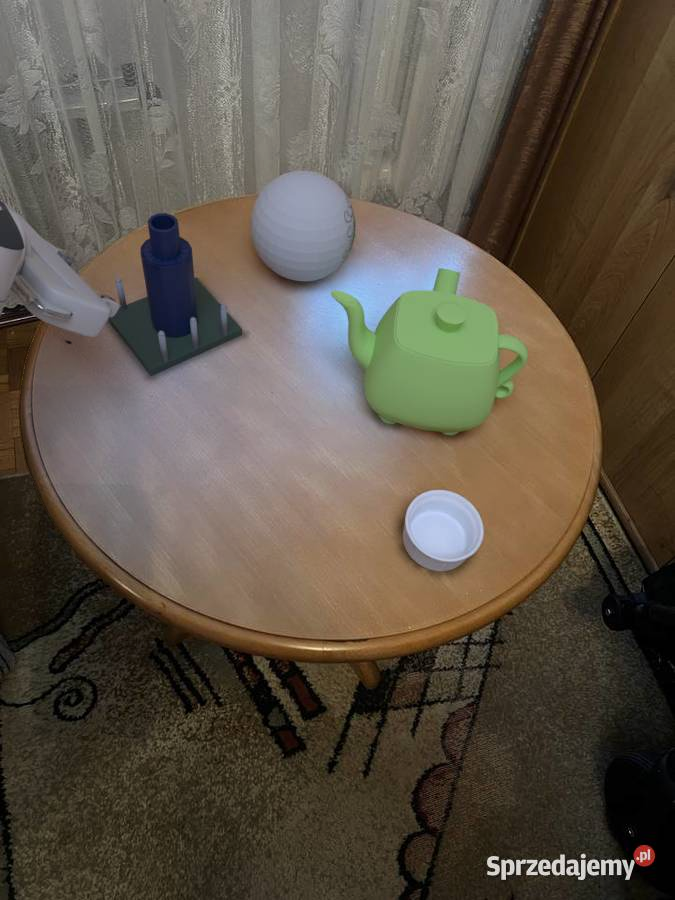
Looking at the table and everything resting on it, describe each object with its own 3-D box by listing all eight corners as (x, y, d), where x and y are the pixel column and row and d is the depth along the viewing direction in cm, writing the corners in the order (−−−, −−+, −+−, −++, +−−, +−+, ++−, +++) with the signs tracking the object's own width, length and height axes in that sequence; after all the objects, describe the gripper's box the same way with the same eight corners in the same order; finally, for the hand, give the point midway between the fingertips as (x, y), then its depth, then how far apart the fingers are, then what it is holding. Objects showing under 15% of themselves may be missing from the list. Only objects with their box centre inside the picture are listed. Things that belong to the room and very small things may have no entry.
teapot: (500, 341, 96) (541, 254, 83) (500, 461, 83) (547, 380, 70) (333, 308, 95) (347, 216, 82) (308, 424, 83) (320, 336, 70)
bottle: (186, 343, 87) (175, 245, 73) (144, 330, 87) (126, 230, 74) (204, 313, 90) (197, 214, 77) (164, 301, 90) (150, 200, 77)
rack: (150, 376, 84) (144, 342, 79) (106, 319, 89) (98, 283, 84) (242, 335, 90) (241, 300, 85) (196, 283, 95) (193, 247, 90)
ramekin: (485, 564, 75) (498, 547, 71) (416, 586, 72) (425, 570, 69) (452, 499, 79) (462, 481, 76) (386, 518, 77) (393, 500, 73)
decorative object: (344, 310, 95) (358, 223, 83) (242, 294, 95) (241, 205, 82) (352, 244, 104) (366, 157, 92) (258, 230, 103) (260, 140, 91)
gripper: (53, 280, 58) (157, 314, 71) (-57, 166, 65) (56, 214, 77) (19, 337, 60) (128, 360, 72) (-84, 219, 67) (31, 259, 79)
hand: (90, 284), depth 75 cm, fingers open, 8 cm apart
